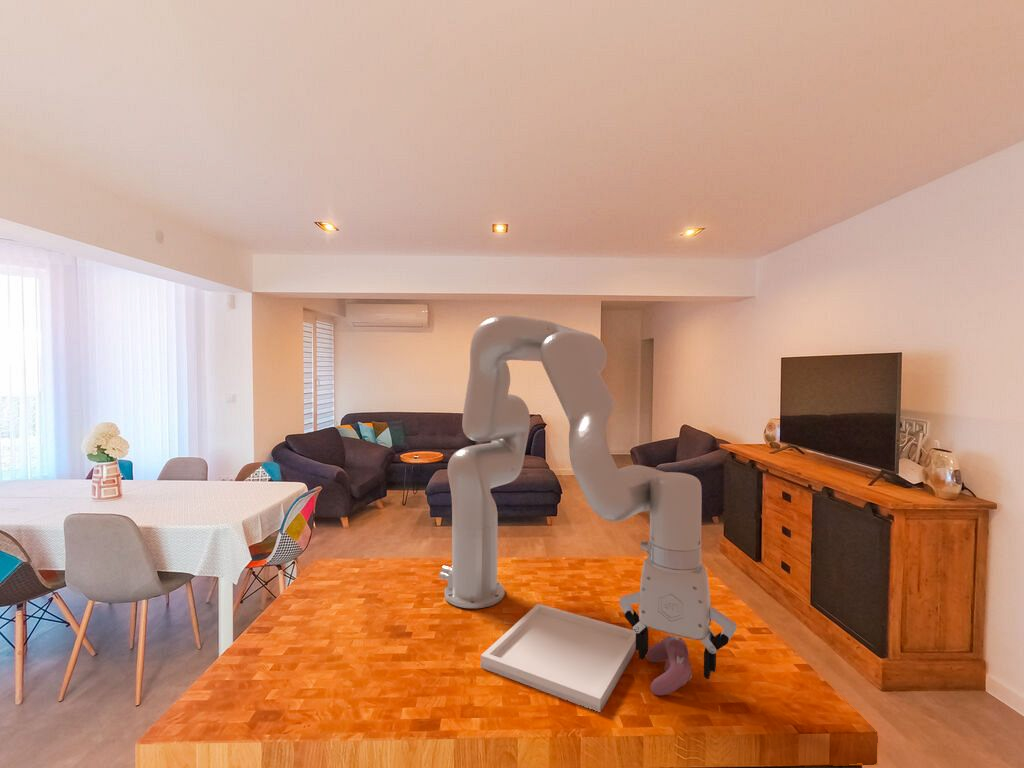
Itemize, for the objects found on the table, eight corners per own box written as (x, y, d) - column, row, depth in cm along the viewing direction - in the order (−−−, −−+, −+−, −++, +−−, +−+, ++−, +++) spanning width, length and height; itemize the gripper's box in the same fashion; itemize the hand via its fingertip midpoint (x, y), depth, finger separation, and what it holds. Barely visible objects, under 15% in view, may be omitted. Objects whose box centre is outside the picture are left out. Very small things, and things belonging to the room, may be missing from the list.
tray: (480, 667, 77) (480, 655, 77) (537, 613, 95) (537, 603, 95) (600, 713, 67) (600, 698, 67) (639, 643, 85) (639, 632, 85)
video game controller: (677, 711, 70) (701, 671, 69) (648, 693, 71) (671, 653, 70) (668, 669, 80) (689, 634, 79) (643, 654, 81) (663, 619, 80)
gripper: (612, 552, 75) (612, 660, 76) (734, 574, 67) (733, 697, 67) (627, 537, 82) (626, 637, 82) (739, 557, 73) (738, 668, 74)
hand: (674, 664), depth 75 cm, fingers open, 9 cm apart
